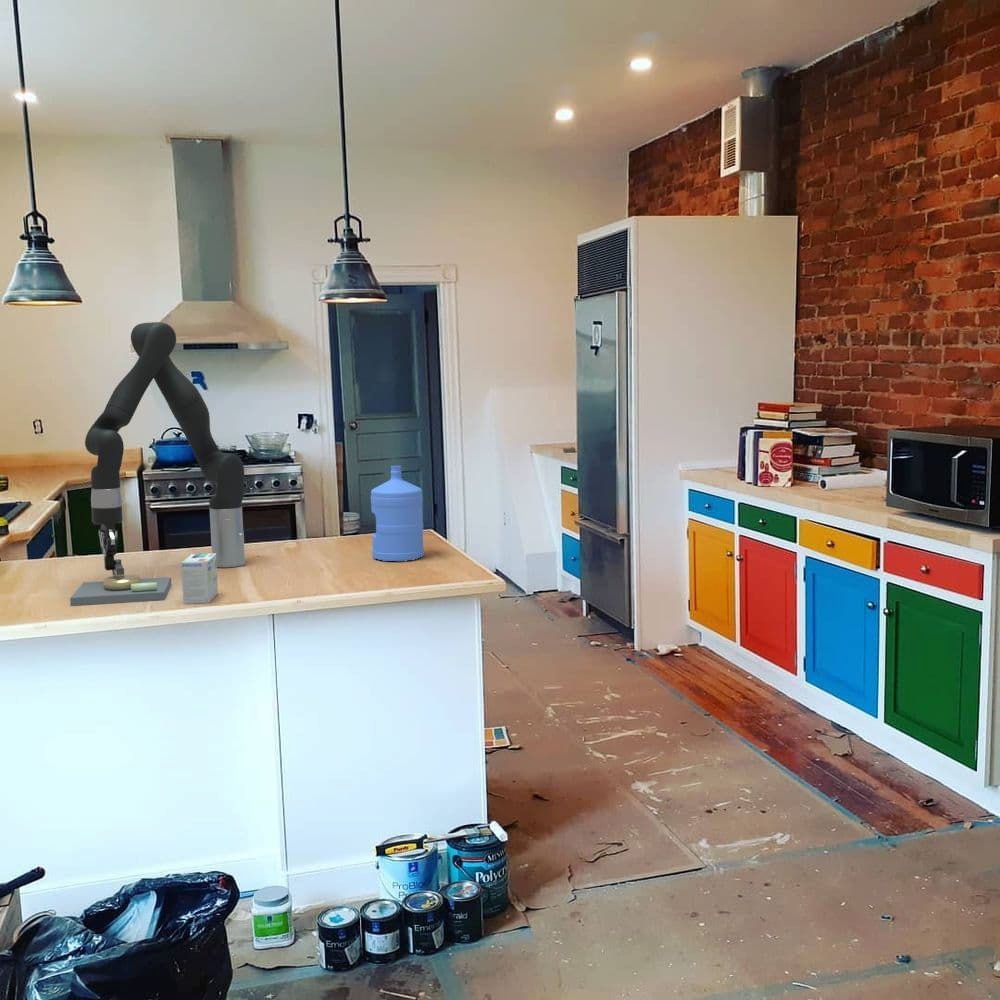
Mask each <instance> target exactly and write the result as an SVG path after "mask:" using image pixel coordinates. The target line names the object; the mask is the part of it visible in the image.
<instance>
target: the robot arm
mask: <svg viewBox="0 0 1000 1000" xmlns="http://www.w3.org/2000/svg"><path fill="white" fill-rule="evenodd" d="M130 342H131V345H132V347H133V349H134V351H135V353H136V354H137V356H138V359H137V361H136V362H135V364H134V365H133V367H132V368H131V369H130V371H129V372H128V373H126V375H125V376H124V378H122V379H121V380H120V382H118V384H117V386H115V388H114V390H113V391H112V393H111V396H110V397H109V400H108V401H107V403H106V405H105V408H104V410H103V411H102V413H101V414H100V415H99V416H98V417H97V419H96V420H95V421H94V423H93V424H92V425H91V426H90V428H89V430H88V431H87V433H86V435H85V439H84V446H85V449H86V450H87V452H88V453H89V454H91V455H94V456H97V462H96V465H95V466H93V467H92V468H91V471H90V478H91V479H90V481H91V482H90V483H91V495H90V503H91V504H90V507H91V522H92V523H93V525H100V529H98V535H97V536H98V538H99V544H100V551H101V553H102V556H103V557H104V558H103V560H104V562H103V563H104V564H103V565H104V570H106V571H112V570H114V560H115V555H117V549H118V544H119V537H118V530H117V529H115V528H116V527H115V525H116V524H121V523H122V522H123V521H124V518H123V517H124V515H123V497H122V496H123V495H122V490H121V476H120V474H121V473H120V471H121V467H122V463H123V459H124V458H123V457H124V450H125V449H124V447H125V445H124V441H123V437H122V436H121V434H120V433H119V432H120V430H121V428H124V427H126V426H128V425H129V424H130V422H131V421H132V419H133V416H134V414H135V413H136V411H137V408H138V406H139V405H140V402H141V400H142V399H143V397H144V394H145V393H146V391H147V389H148V387H149V386H150V385H151V383H152V381H153V380H154V381H155V384H156V386H157V387H158V389H159V391H160V393H161V394H162V396H163V398H164V399H165V401H166V403H167V405H168V407H169V410H170V411H171V414H172V415H173V417H174V419H175V420H176V422H177V423H178V425H179V427H180V429H181V430H182V433H183V435H184V436H185V439H186V440H187V442H188V443H189V446H190V447H191V449H192V452H193V454H194V457H195V460H196V462H197V464H198V466H199V468H200V471H201V474H203V476H204V478H205V479H206V480H207V481H208V482H210V483H212V484H216V493H215V495H214V496H212V497H210V498H209V501H208V505H209V507H208V508H209V522H210V523H209V524H210V542H211V553H216V563H217V568H233V567H235V568H236V567H241V566H242V567H243V566H245V564H246V557H245V556H246V554H245V535H244V533H245V531H244V522H243V521H244V520H243V519H244V518H243V500H244V497H245V467H244V463H243V460H242V458H240V456H238V455H237V454H235V453H229V452H222V451H221V450H220V448H219V446H218V445H217V443H216V442H215V440H214V438H213V436H212V433H211V419H210V418H211V417H210V412H209V408H208V406H207V405H206V402H205V401H204V399H203V396H202V394H201V393H200V391H199V390H198V388H197V386H195V385H194V383H193V382H192V381H191V380H190V379H189V378H188V377H187V376H186V375H184V374H183V372H181V370H179V369H178V368H177V366H176V365H175V364H174V362H173V361H172V359H171V357H170V355H171V354H172V353H173V351H174V349H175V347H176V345H177V335H176V331H175V330H174V329H173V327H172V326H171V325H170V324H168V323H165V322H158V321H155V322H154V321H152V322H142V323H139V324H138V323H137V324H136V325H135V326H134V327H133V328H132V330H131V333H130Z"/></svg>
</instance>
